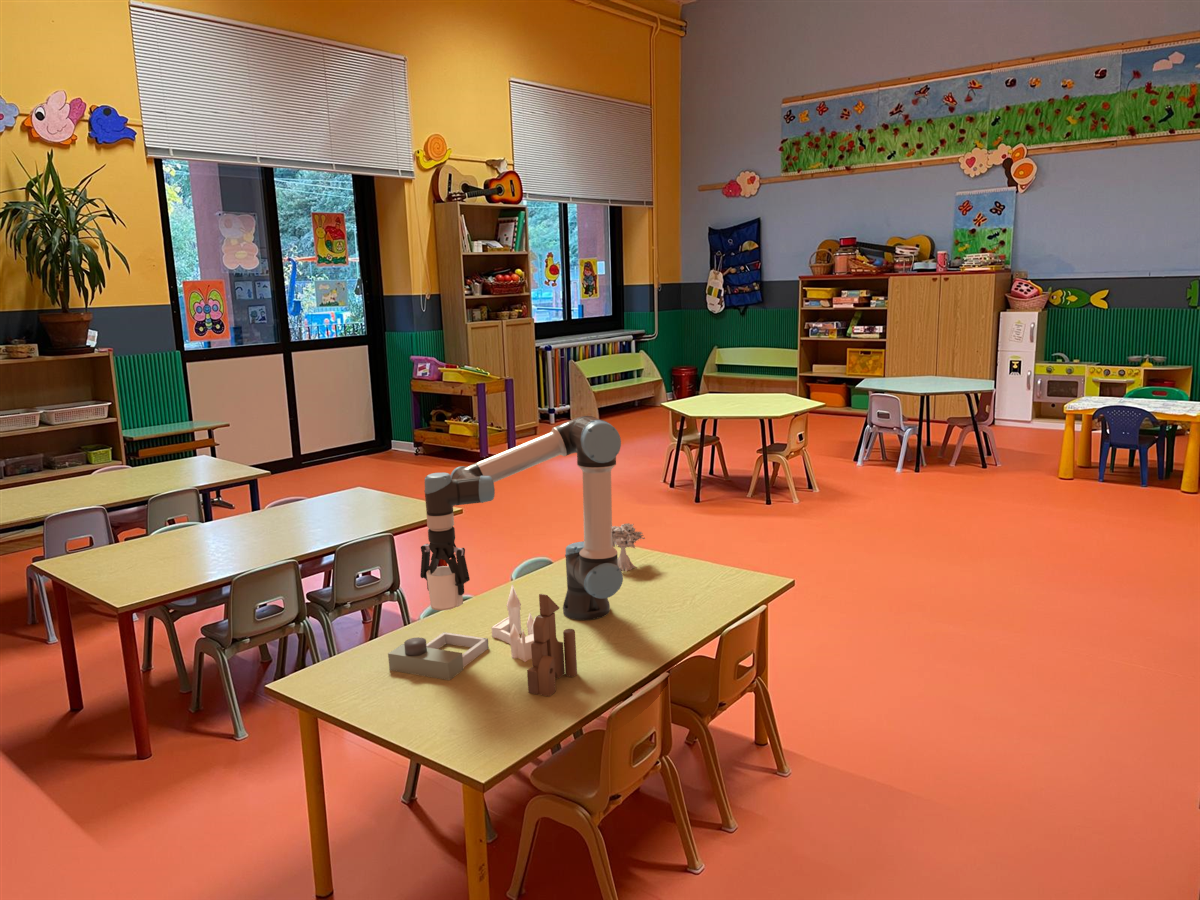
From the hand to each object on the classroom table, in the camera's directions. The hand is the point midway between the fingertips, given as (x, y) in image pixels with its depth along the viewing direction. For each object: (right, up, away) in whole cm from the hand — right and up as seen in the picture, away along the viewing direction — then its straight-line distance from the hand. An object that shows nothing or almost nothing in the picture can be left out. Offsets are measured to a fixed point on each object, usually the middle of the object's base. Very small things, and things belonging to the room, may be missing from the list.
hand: (446, 603), depth 256 cm
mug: (0, 0, 0) cm, 1 cm away
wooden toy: (+32, -18, -18) cm, 41 cm away
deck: (-1, -16, 0) cm, 16 cm away
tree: (+53, +1, +72) cm, 90 cm away
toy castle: (+19, -14, +8) cm, 25 cm away
